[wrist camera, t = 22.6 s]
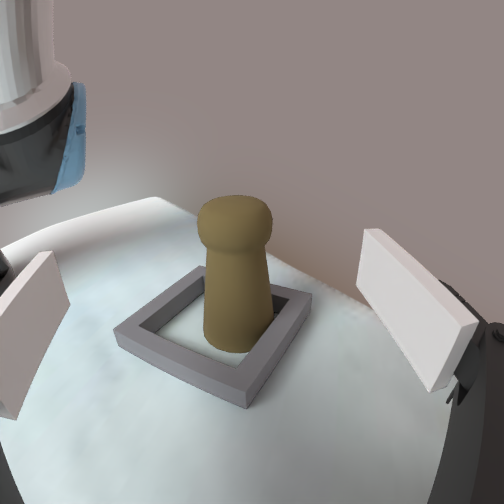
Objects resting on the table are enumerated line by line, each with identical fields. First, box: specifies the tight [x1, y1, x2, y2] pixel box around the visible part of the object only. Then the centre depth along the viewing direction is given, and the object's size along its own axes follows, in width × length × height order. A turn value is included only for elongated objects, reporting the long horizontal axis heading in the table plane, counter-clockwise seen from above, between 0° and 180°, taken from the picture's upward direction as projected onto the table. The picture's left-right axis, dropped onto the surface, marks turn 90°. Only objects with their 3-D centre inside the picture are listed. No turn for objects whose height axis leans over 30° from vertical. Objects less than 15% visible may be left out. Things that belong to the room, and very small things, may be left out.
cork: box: [197, 195, 274, 353], centre depth 23 cm, size 6×6×11 cm
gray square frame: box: [113, 265, 312, 409], centre depth 25 cm, size 12×12×2 cm
